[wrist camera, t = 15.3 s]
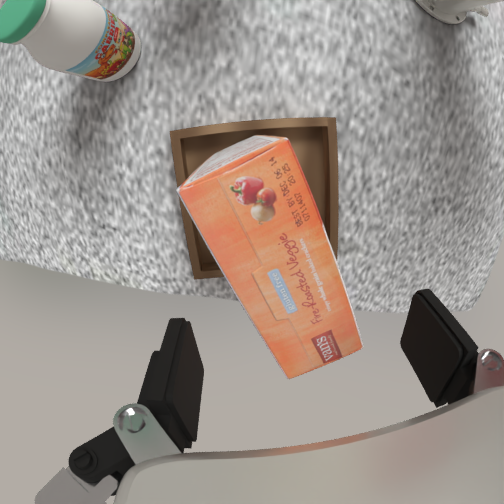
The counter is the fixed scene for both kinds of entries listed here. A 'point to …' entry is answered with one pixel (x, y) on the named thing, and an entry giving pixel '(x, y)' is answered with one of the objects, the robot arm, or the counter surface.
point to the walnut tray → (227, 134)
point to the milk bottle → (71, 37)
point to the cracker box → (274, 251)
